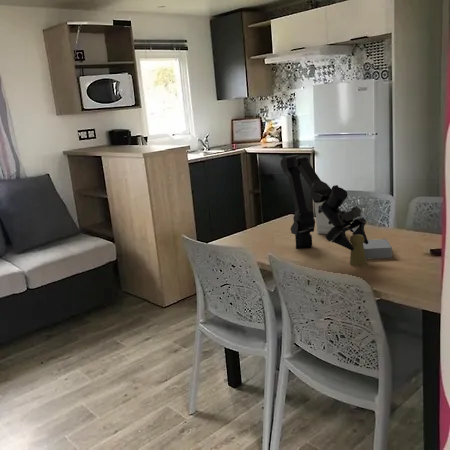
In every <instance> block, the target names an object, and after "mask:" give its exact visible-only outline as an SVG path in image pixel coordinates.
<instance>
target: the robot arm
mask: <svg viewBox="0 0 450 450" xmlns="http://www.w3.org/2000/svg"><path fill="white" fill-rule="evenodd" d="M280 166H281V169H282V172H283V174H284V175H285V176H286V177H287V178H288V181H289V186H290V187H289V188H290V191H291V196H292V201H293V204H294V210H295V212H294V215H293V222H292V225H291V227H290V233H291V234H293V235H294V236H295V238H294V239H295V249H311V248H312V246H313V237H312V235H313V234H311V233H314V232H315V227H316V218H315V216H314V212H313V210H312V211H310V210H309V209H308V206H307V201H306V197H305V196H306V195H305V192H304V187H303V184H302V178H301V175H302V177H303V179H304V180H305V182H306V184H307V185H308V187H309V189H310V191H309V194H310V197H311V199H312V201H313V202H314V204H315V203H321V202H324V203H323V204H322V205H320V206H319V210H318V213H322V212H323V213H324V215H325V216H326V217H327V218H328V220H329V222H328V223H329V225H330V224H332V225H333V226H334V227H333V228H331V230H330V231H329V232H328V233H327V234H325V239H326V240H327V241H328V242H329V243H335V244H337V245H339V246H341V247H344V248H346V249H348V250H350V252H351V251H353V250H354V248H353V246H352V244H351V242H350V239H348V237H347V236H346V232H349V231H350V232H351V233H352V235H355V234H360V235H363V236H364V239H365V240H364V243H365V244H368V243H369V242H368V240H369V239H368V238H367V235H366V233H365V232H366V231H365V226H366V223H367V220H366V219H365V218H364V217H362V215H361V214H362V210H361V209H360V208H359V207H358V206H357V205H356V206H353V207H351V208H350V210H349V211H347V212H346V210H341V206H343V204H344V202H345V201H346V199H348V192H347V190H345V189H344V188H342V187H340V186H339V185H338V184H337V185H335V184H334V185H333V186H332V187H330V185H329V184H328V183H326V181H325V182H324V181H322V180H321V179H320V176H318V174H317V172H316V171H315V170H314V168H313V166H312V165H311V163H310V161H309V157H308V156H305V155H304V156H299V155H298V154H295V155H294V154H293V155H287V156H283V157H282V159H281V160H280Z"/></svg>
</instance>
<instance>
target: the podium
mask: <svg viewBox="0 0 450 450" xmlns="http://www.w3.org/2000/svg"><path fill="white" fill-rule="evenodd" d="M367 240H368V242H369V243H368V244H365V243H363V246H364V252H365V257H366V260H369V259H370V260H371V259H374V260H376V259H392V258H393V247H392V245H391V244H390V241H389V240H388V239H387V238H379V239H367Z"/></svg>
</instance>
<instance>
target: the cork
mask: <svg viewBox="0 0 450 450" xmlns="http://www.w3.org/2000/svg"><path fill="white" fill-rule="evenodd" d="M364 240H365V239H364V236H363V235H360V234H355V235H353V234H352V235H351V236H350V237H349V242H350V243H351V244H352V246H353V248H354V250H353V251H351V250H350V258H349V265H350V266H353V267H363V266H365V265H367V259H366V257H365V252H364V246H363V243H364Z"/></svg>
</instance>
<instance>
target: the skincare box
mask: <svg viewBox="0 0 450 450" xmlns="http://www.w3.org/2000/svg"><path fill="white" fill-rule="evenodd" d="M323 203H324V202H321V203H315V202H314V210H315V225H316V233H317V234H319V235H320V234H322V235H323V234H324V235H326V234H327V233H328V232H329V231H330V230H331V228H333V227H334V226H333V225H332V224H330V225H329V223H328V222H329V220H328V218H327V217H326V216H325V215H324V213H323V212H322V213H318V210H319V206H320V205H322V204H323Z"/></svg>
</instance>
